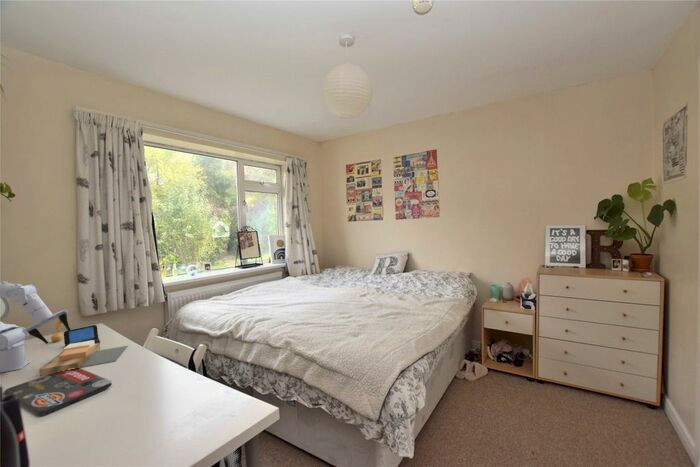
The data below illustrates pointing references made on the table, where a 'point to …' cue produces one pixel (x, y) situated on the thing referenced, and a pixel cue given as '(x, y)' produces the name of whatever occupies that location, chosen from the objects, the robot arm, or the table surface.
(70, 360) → the deck
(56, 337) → the figurine
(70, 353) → the orange rectangular block
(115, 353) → the mat
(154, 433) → the table surface
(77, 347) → the cream rectangular block
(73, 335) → the handheld game console
